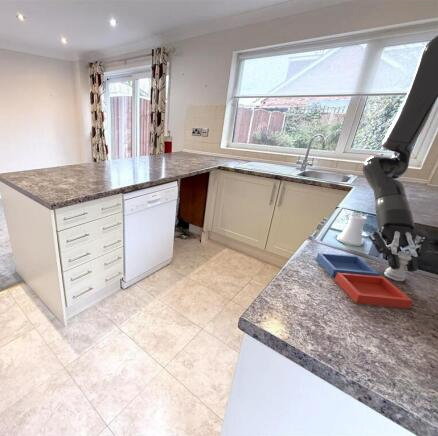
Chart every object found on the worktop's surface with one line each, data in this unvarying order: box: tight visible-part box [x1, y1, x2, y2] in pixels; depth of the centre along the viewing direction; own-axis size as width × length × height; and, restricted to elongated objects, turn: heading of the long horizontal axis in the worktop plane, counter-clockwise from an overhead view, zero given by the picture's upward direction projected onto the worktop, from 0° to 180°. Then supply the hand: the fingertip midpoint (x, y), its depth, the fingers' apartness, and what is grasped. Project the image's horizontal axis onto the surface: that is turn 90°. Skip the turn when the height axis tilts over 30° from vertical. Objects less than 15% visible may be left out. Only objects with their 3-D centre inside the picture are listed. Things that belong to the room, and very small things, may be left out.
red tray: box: [334, 273, 414, 309], centre depth 64 cm, size 12×10×2 cm
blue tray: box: [315, 252, 380, 278], centre depth 74 cm, size 12×10×2 cm
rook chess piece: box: [383, 250, 412, 282], centre depth 69 cm, size 4×4×8 cm
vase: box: [336, 213, 368, 247], centre depth 90 cm, size 8×8×10 cm
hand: (404, 269), depth 67 cm, fingers closed on rook chess piece, 3 cm apart
